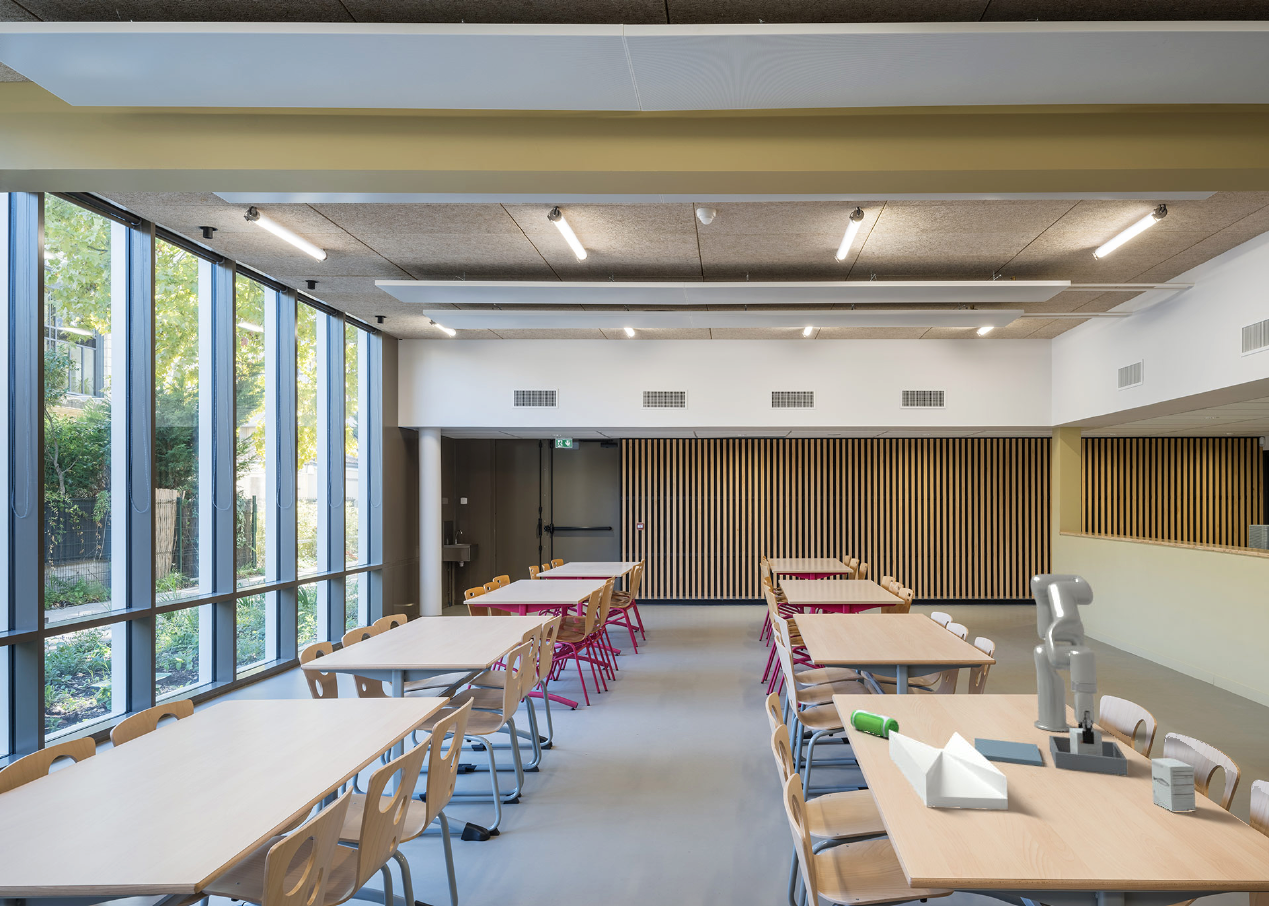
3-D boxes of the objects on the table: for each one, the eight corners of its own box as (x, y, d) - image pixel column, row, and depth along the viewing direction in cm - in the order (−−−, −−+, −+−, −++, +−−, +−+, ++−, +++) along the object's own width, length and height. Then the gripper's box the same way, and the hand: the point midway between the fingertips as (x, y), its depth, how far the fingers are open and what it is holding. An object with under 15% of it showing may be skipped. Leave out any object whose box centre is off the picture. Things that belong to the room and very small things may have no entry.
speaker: (900, 738, 286) (899, 717, 286) (887, 741, 282) (887, 720, 282) (862, 726, 300) (861, 707, 301) (849, 729, 296) (849, 709, 297)
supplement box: (1152, 803, 223) (1150, 758, 223) (1176, 802, 223) (1174, 757, 224) (1171, 813, 215) (1169, 766, 216) (1196, 812, 216) (1194, 765, 217)
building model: (889, 757, 264) (888, 729, 265) (956, 759, 262) (955, 730, 263) (926, 808, 220) (925, 774, 220) (1007, 811, 218) (1006, 776, 218)
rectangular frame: (1049, 750, 271) (1049, 735, 271) (1116, 757, 263) (1115, 742, 264) (1056, 767, 253) (1055, 752, 253) (1127, 776, 245) (1127, 759, 245)
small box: (1095, 760, 260) (1093, 728, 261) (1103, 765, 255) (1102, 733, 255) (1070, 759, 261) (1068, 727, 262) (1078, 764, 256) (1076, 732, 256)
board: (974, 742, 280) (974, 737, 280) (1036, 748, 273) (1036, 744, 273) (975, 758, 262) (975, 754, 262) (1042, 766, 254) (1042, 761, 254)
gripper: (1067, 681, 269) (1070, 732, 267) (1074, 691, 253) (1076, 745, 251) (1092, 683, 266) (1095, 734, 264) (1101, 693, 250) (1103, 748, 249)
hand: (1086, 739), depth 258 cm, fingers open, 9 cm apart
